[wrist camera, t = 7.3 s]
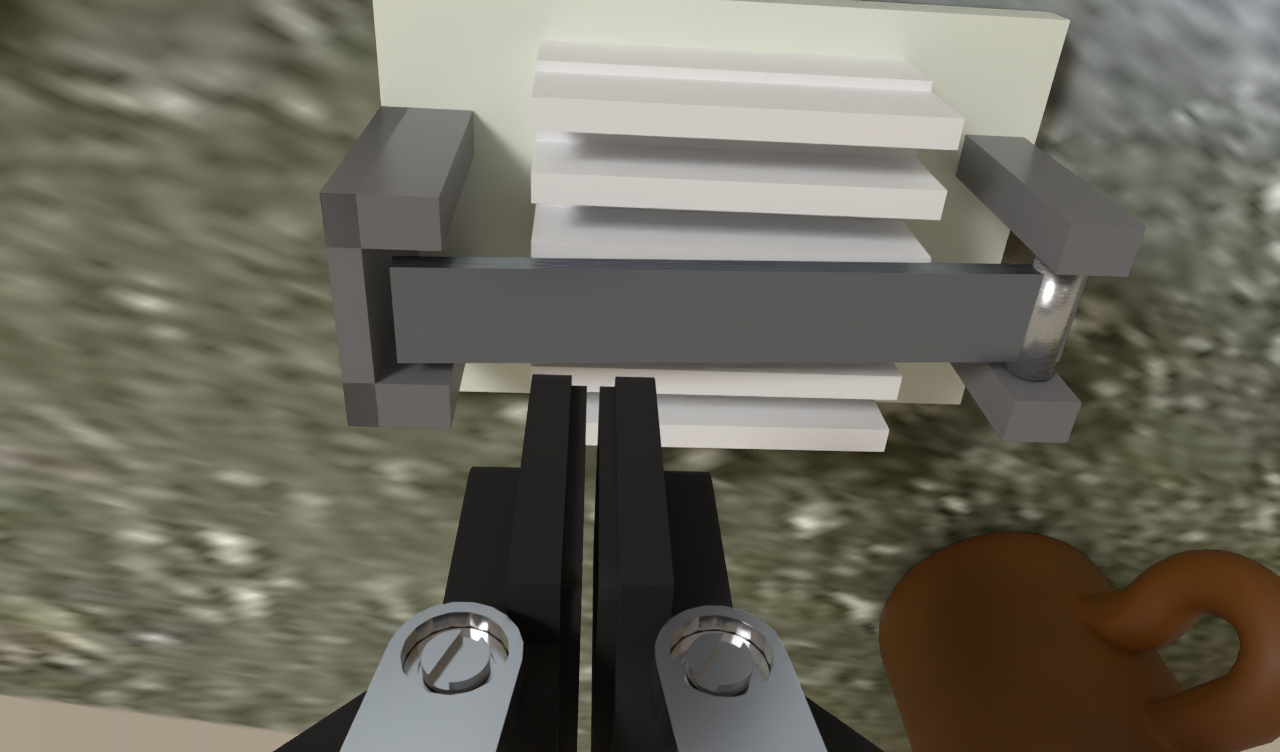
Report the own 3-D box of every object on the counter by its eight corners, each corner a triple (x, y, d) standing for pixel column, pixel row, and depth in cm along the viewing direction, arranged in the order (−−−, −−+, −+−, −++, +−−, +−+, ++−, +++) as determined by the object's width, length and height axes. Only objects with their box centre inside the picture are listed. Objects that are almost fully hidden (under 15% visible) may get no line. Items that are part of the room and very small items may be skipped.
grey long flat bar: (1073, 246, 19) (1099, 266, 18) (1037, 357, 20) (1060, 380, 19) (393, 235, 17) (386, 257, 16) (402, 357, 18) (396, 383, 18)
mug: (1021, 379, 26) (1213, 628, 18) (1234, 448, 28) (1495, 704, 20) (832, 659, 32) (914, 944, 24) (1018, 703, 34) (1154, 983, 26)
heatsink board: (1050, 12, 21) (1216, 82, 15) (947, 385, 26) (1045, 538, 21) (380, -28, 20) (300, 32, 14) (410, 370, 25) (360, 527, 20)
